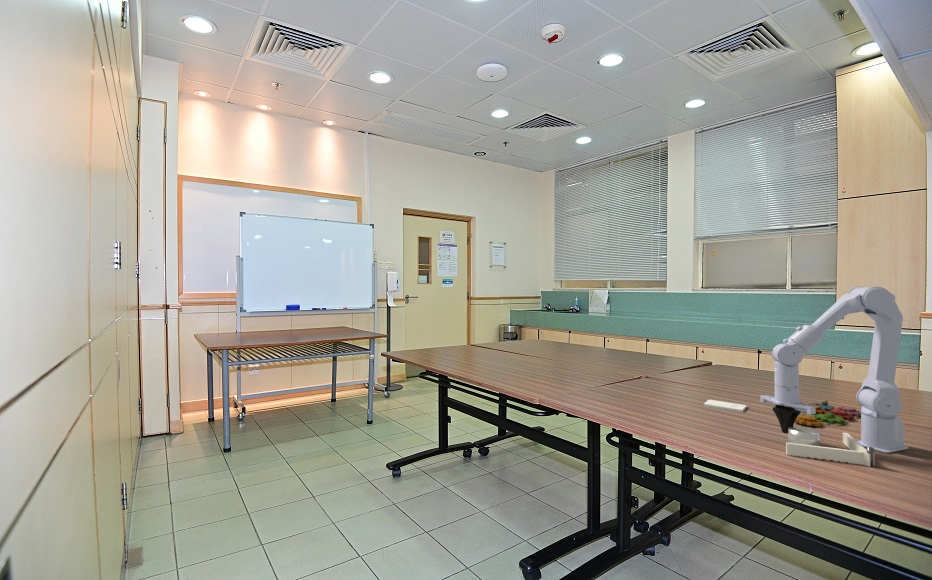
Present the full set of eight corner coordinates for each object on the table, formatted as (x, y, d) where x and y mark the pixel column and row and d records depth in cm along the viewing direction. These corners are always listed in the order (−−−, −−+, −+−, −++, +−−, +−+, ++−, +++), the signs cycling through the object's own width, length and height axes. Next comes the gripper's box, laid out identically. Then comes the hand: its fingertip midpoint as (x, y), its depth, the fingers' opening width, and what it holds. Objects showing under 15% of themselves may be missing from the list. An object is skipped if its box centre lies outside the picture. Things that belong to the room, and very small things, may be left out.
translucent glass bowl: (799, 438, 128) (799, 425, 128) (825, 447, 122) (825, 432, 122) (782, 441, 126) (782, 427, 126) (808, 450, 120) (808, 435, 120)
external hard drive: (709, 403, 171) (747, 409, 162) (703, 407, 164) (742, 413, 156) (709, 399, 171) (747, 404, 162) (703, 403, 164) (742, 409, 156)
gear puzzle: (829, 434, 134) (829, 420, 134) (769, 420, 148) (769, 408, 148) (866, 417, 151) (866, 405, 151) (809, 406, 165) (809, 395, 164)
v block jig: (844, 442, 125) (844, 426, 125) (903, 459, 113) (903, 442, 113) (784, 453, 117) (784, 436, 117) (840, 473, 105) (840, 454, 105)
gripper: (752, 381, 134) (753, 426, 134) (803, 392, 120) (803, 442, 120) (769, 380, 136) (769, 424, 136) (820, 390, 123) (820, 439, 123)
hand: (786, 432), depth 128 cm, fingers closed
